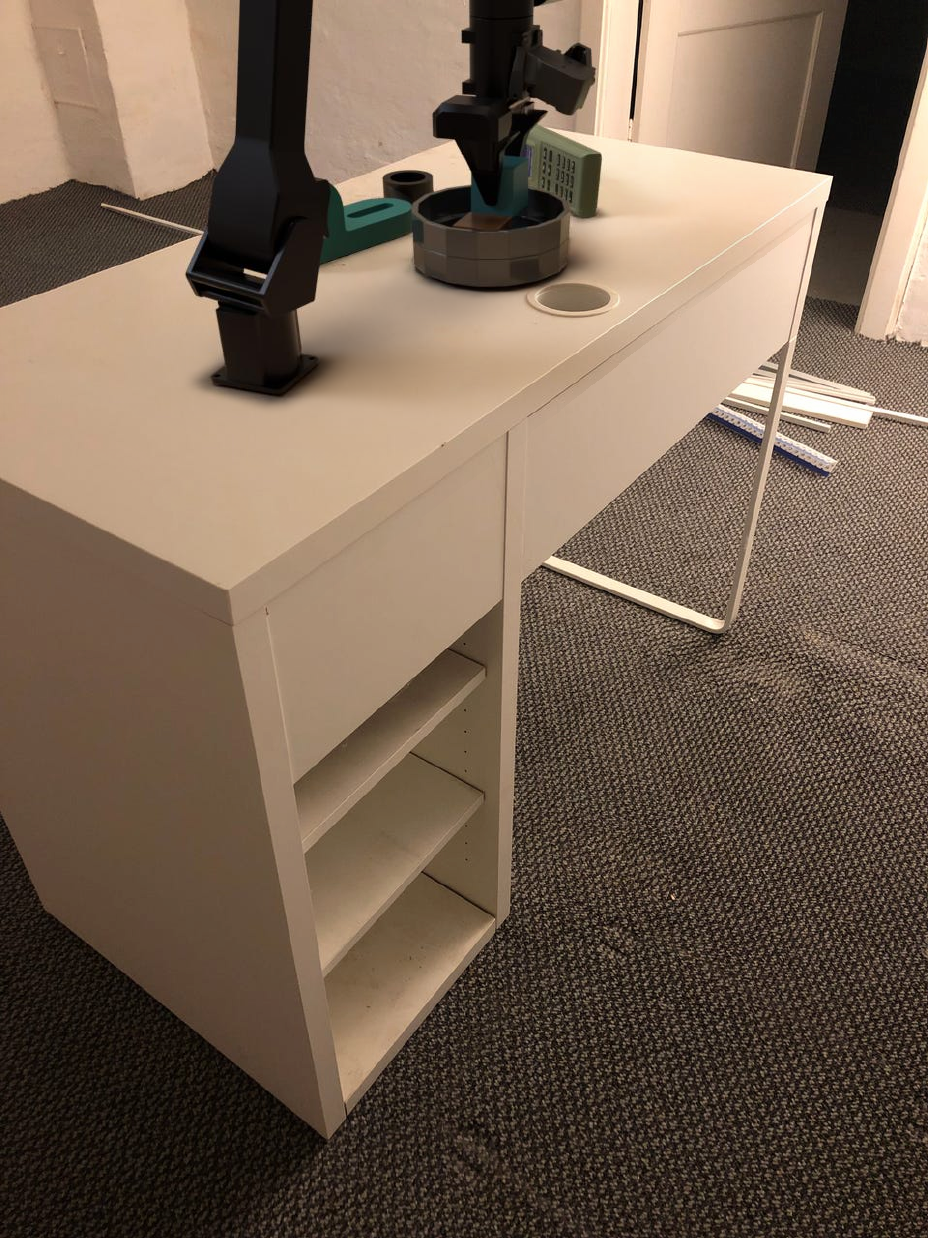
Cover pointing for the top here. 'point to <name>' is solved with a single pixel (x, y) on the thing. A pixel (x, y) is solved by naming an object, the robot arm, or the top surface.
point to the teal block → (506, 189)
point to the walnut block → (484, 222)
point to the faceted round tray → (490, 240)
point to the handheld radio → (564, 169)
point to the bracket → (363, 224)
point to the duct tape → (407, 185)
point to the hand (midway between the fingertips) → (499, 198)
